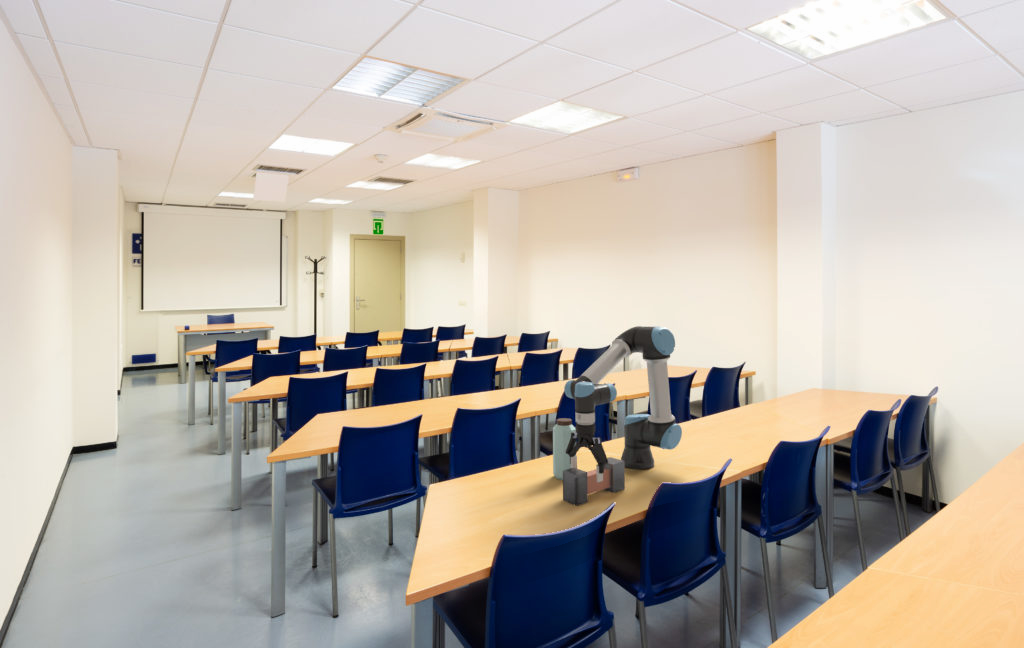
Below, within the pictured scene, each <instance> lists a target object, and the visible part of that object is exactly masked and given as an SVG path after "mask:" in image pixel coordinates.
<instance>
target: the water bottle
mask: <svg viewBox="0 0 1024 648" xmlns="http://www.w3.org/2000/svg"><path fill="white" fill-rule="evenodd" d="M573 432H576V426H574V425H573V419H571V418H568V417H567V418H566V417H564V418H563V417H562V418H560V417H559V418H557V419H556V423H555V424H554V426H553V427H552V471H553V472H552V473H553V476H554V477H555V478H556V479H557V480H561V481H563V470H567V469H570V468H571V464H570V456H569V455H568V454H566V449H567V447H568V444H569V441H570V438H571V433H573ZM575 445H576V443H575ZM575 445H574V446H575ZM574 456H577V453H576V454H575V455H574Z"/></svg>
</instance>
